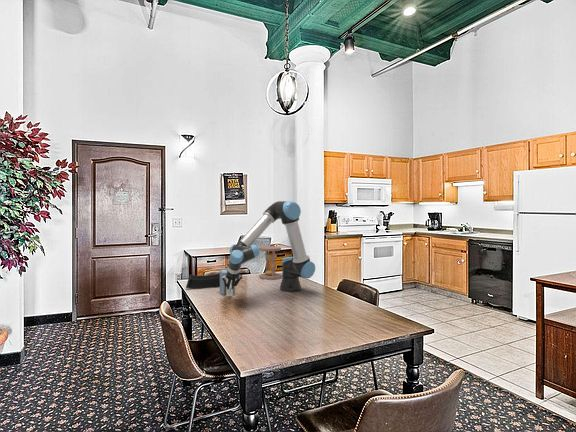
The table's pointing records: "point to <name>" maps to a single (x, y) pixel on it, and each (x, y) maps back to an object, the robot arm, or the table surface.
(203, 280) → the magazine
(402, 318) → the table surface
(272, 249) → the hourglass
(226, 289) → the tile
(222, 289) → the housing
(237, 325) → the table surface
